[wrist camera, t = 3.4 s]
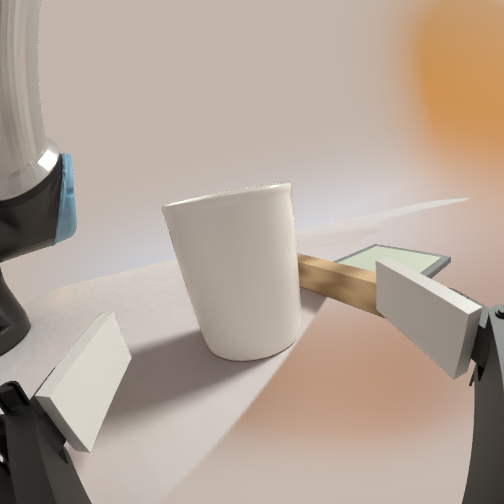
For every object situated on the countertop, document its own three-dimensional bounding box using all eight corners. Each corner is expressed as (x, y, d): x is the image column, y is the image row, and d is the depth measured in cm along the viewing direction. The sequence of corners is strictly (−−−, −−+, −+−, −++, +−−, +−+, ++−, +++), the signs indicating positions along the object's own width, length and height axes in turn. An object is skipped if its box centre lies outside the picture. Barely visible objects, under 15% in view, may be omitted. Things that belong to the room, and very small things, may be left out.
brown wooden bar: (281, 279, 35) (278, 256, 35) (294, 274, 36) (291, 251, 35) (423, 332, 18) (426, 297, 17) (434, 320, 19) (437, 287, 18)
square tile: (312, 275, 34) (311, 269, 34) (375, 248, 40) (375, 243, 40) (399, 303, 23) (399, 295, 23) (450, 262, 29) (450, 256, 28)
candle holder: (310, 303, 27) (293, 180, 24) (310, 365, 18) (287, 184, 15) (216, 311, 29) (191, 198, 26) (181, 367, 20) (135, 213, 17)
